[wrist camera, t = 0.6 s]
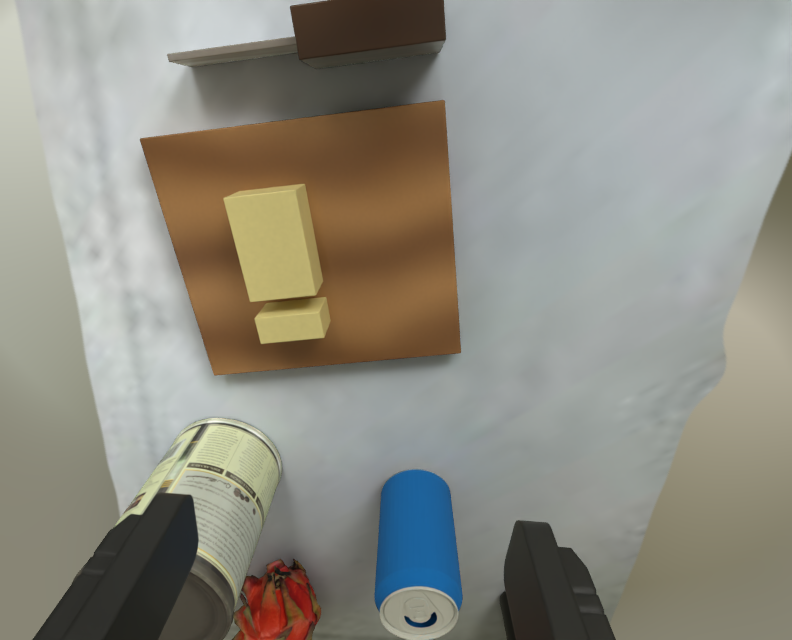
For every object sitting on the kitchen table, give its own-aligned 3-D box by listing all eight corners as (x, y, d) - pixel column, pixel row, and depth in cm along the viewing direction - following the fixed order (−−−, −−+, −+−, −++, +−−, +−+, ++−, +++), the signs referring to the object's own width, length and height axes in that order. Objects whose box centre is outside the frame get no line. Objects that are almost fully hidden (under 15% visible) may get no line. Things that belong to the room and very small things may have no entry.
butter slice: (266, 302, 34) (253, 318, 32) (326, 296, 34) (319, 312, 31) (272, 326, 35) (260, 344, 32) (330, 321, 35) (324, 338, 32)
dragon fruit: (280, 606, 53) (288, 518, 50) (333, 654, 48) (346, 561, 45) (214, 659, 46) (218, 562, 43) (268, 722, 41) (278, 618, 38)
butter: (238, 191, 31) (222, 198, 28) (305, 183, 31) (295, 189, 28) (262, 287, 34) (249, 302, 31) (323, 281, 34) (316, 295, 31)
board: (150, 137, 31) (138, 138, 30) (443, 100, 30) (444, 99, 29) (220, 366, 38) (213, 375, 37) (459, 344, 37) (461, 353, 36)
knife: (184, 41, 29) (142, 26, 24) (436, 5, 28) (442, -17, 23) (195, 85, 30) (157, 79, 25) (439, 52, 29) (446, 40, 24)
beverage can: (390, 520, 45) (385, 649, 34) (374, 469, 42) (362, 592, 31) (455, 509, 44) (471, 638, 33) (442, 457, 42) (455, 578, 31)
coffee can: (268, 515, 45) (212, 674, 32) (164, 485, 44) (62, 638, 31) (296, 437, 41) (246, 582, 28) (183, 401, 40) (76, 536, 27)
